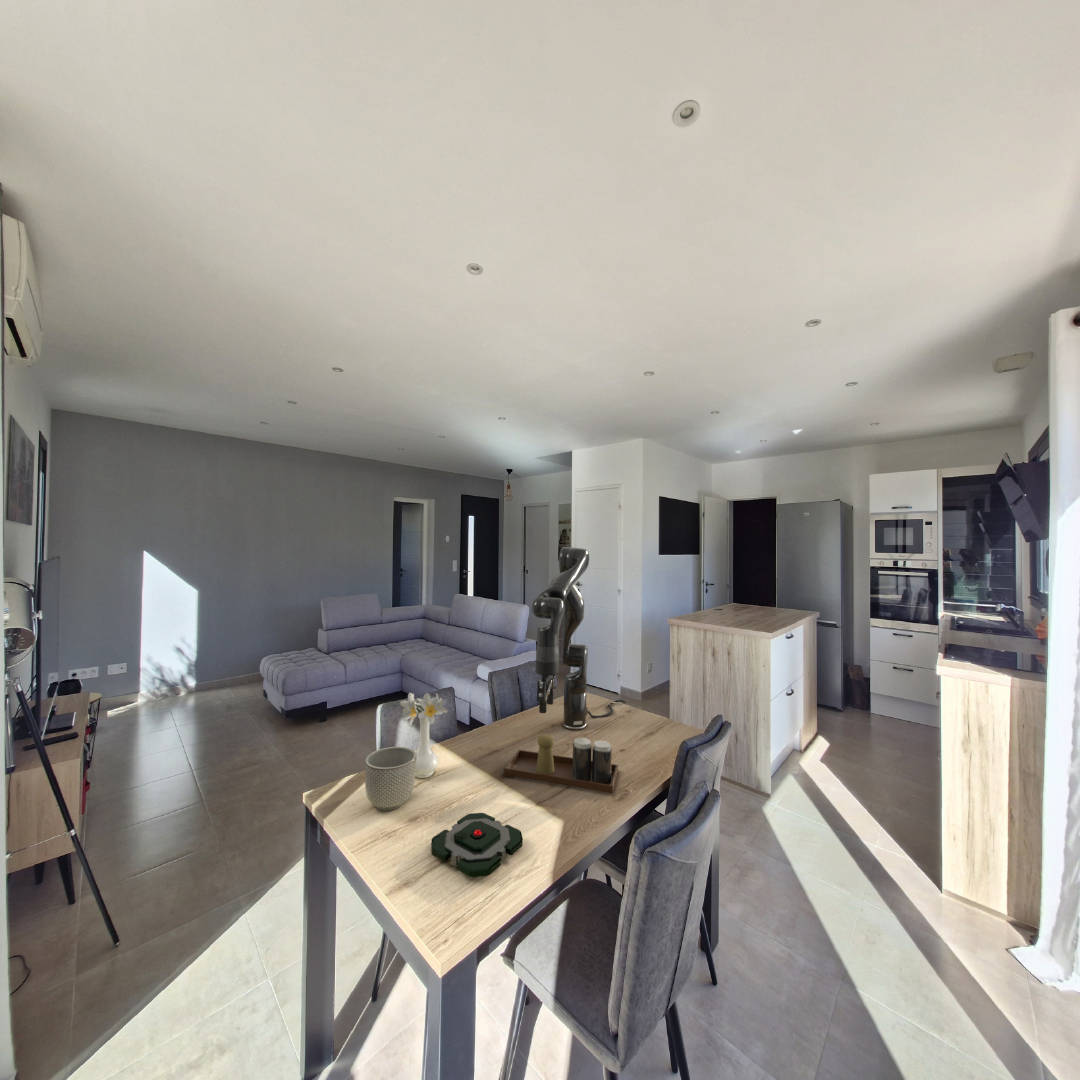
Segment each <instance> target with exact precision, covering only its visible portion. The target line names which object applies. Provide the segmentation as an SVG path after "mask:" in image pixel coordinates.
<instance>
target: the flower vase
mask: <svg viewBox="0 0 1080 1080" xmlns="http://www.w3.org/2000/svg"><path fill="white" fill-rule="evenodd" d="M435 695H436V697H431V695H430V693H428V692H426V693H425V694H424V695H423V698H415V693H412V692H409V693H408V694H407V700H401V701H399V705H400V706H401V707H403V709H402V711H401V713H402V714H401V716H403V717H402V719H403V721H408V720H409V721H408V726H409V727H412V725H413V722H414V720H415V718H418V719H419V721H418V722H419V737H418V745H417V748H416V751H415V752H416V755H417V763H416V774H415V778H417V779H425V778H428V777H429V778H430V777H431V776H432V775H433V774H434V772H435V770H436V769H438V766H439V763H440V760H439V756H438V755H437V753H436V752H435V751H434V750H433V749H432V746H431V740H430V738H431V737H430V728H431V727H430V726H431V725H433V724H434V723H435V720H436V718H435V716H441V715H443V714H445V715H447V714H448V713H449V711H448V710H447V709H446V707H445V706H443V704H444V700H443V698H442V697H440V698H439V694H438V692H436V693H435Z"/></svg>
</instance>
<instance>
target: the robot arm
mask: <svg viewBox="0 0 1080 1080" xmlns="http://www.w3.org/2000/svg"><path fill="white" fill-rule="evenodd" d="M589 563H590V554H589V551H588V550H587V549H586V548H581V547H571V546H570V547H569V546H563V547H561V548H560V550H559V554H558V568H559V573H558V574H557V575H556V576H555V577H554V578H553V579H552V580H551V582H550V584H549V585H548V587H547V588H546V589H545V590H543V591H542V592H540V593H539V594H538V595H537V596H536V597H535V598H534V600H533V602H532V605H531V612H532V614H533V615H534V616H535V617H536V618H538V619H546V620H551V621H550V623H549V624H546V625H540V626H539V627H538V628H537V631H536V633H537V634H536V648H535V649H536V651H535V673H536V674H537V675H539V676H540V678H539V680H537V681H536V683H537V688H536V701H538V702H539V704H538V705H539V706H538V712H539V714H546V713H547V709H548V707H547V705H550V706H552V705H553V704H554V693H555V692H556V691H555V690H556V688H557V675H558V674H559V672H560V662H561V664H562V666H564V667H567V668H568V667H569V668H570V667H571V668H578V670H576V671H573V672H571V673H568V674H566V675H565V676H564V679H563V681H564V682H563V717H562V719H563V722H562V726H563V728H565V729H568V730H574V731H580V730H584V729H586V728H587V716H590V717H591V718H593V719H597V718H605V717H609V716H611V715H612V714H613V713H614V709H613V708H612V707H611V706H612V705H614V704H615V703H612V702H616V703H623V704H627V702H626V701H625V700H623V699H616V700H614V701H611V702H609V703H608V705H607V708H608V709H609V710H610V712H608V713H605V714H602V715H593V713H591V711H589V710H588V709H589V707H587V685H588V684H587V681H588V680H587V675H588V673H587V671H588V658H589V649H588V646H587V645H586V644H582V643H581V644H580V643H570V641H571V639H572V637H573V635H574V633H575V632H576V631H577V629H578V628H579V626H581V624H582V622H583V620H584V619H585V600H584V598H583V595H582V594H581V593H580V591H579V590H578V588H577V586H576V584H575V583H576V582H577V581H578V580H579V579H580V578H581V577H582V576H583V575H584V573H585V572H587V569H588V568H589ZM560 628H561V648H560V646H559V636H560V635H559V634H560ZM560 649H561V650H560ZM560 658H561V659H560ZM560 660H561V661H560ZM609 704H610V705H609Z"/></svg>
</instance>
